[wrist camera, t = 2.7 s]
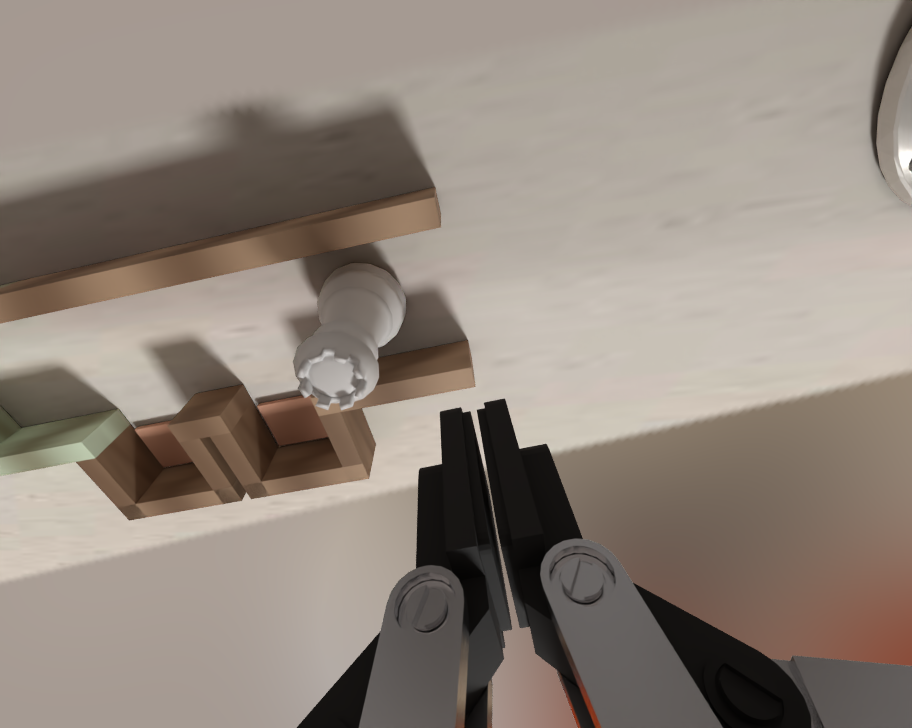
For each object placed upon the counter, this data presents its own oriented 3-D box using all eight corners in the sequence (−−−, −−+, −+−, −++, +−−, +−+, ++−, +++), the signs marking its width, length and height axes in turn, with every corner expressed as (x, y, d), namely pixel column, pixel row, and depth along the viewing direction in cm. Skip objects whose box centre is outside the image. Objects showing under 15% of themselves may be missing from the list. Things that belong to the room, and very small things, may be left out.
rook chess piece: (307, 310, 22) (248, 395, 15) (348, 242, 20) (301, 303, 14) (379, 352, 24) (354, 447, 17) (423, 291, 22) (416, 370, 15)
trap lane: (435, 186, 19) (434, 197, 17) (485, 424, 27) (490, 457, 24) (-115, 311, 21) (-191, 337, 19) (70, 499, 29) (34, 536, 26)
